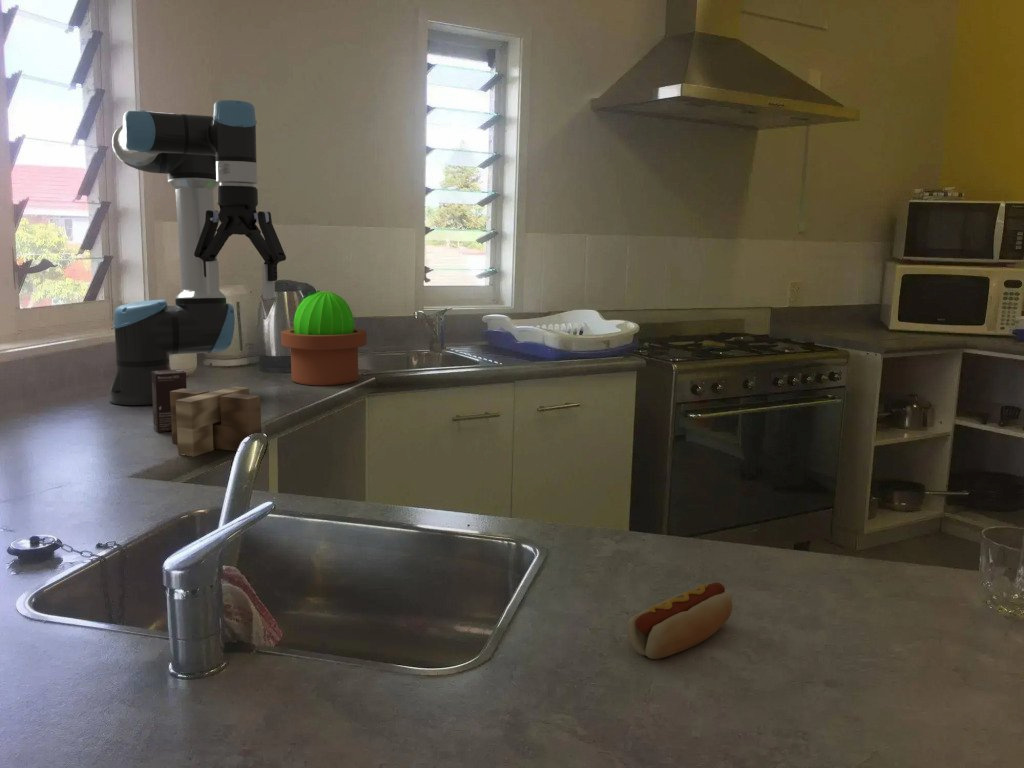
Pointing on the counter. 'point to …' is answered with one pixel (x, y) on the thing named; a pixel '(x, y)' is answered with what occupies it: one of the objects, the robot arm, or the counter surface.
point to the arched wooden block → (200, 420)
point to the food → (680, 621)
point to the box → (165, 396)
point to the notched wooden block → (225, 417)
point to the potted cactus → (324, 341)
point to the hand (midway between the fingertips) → (240, 296)
